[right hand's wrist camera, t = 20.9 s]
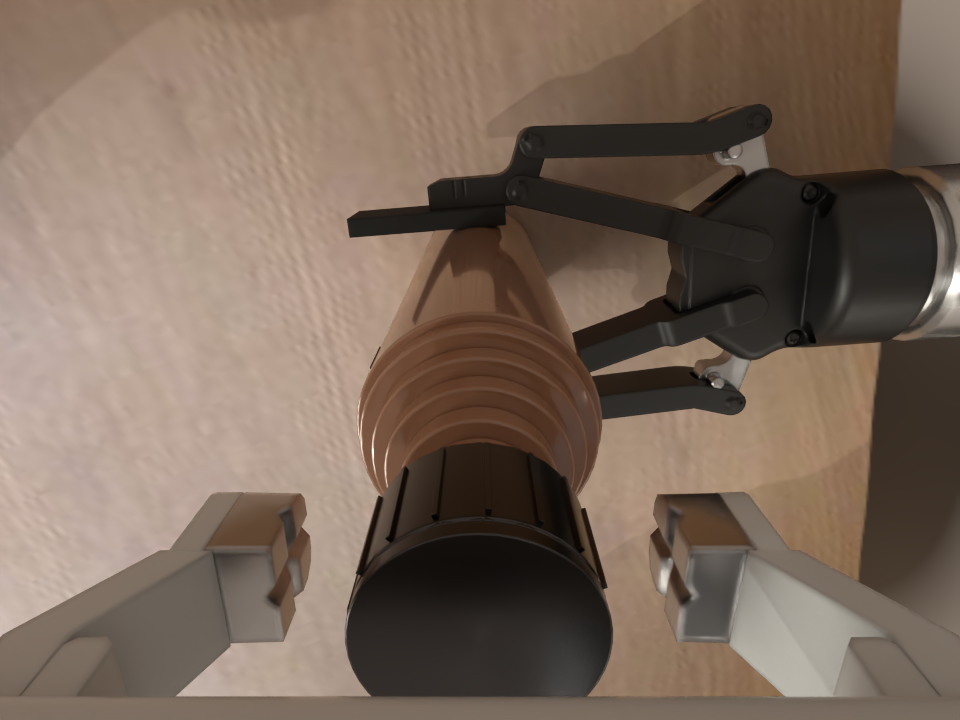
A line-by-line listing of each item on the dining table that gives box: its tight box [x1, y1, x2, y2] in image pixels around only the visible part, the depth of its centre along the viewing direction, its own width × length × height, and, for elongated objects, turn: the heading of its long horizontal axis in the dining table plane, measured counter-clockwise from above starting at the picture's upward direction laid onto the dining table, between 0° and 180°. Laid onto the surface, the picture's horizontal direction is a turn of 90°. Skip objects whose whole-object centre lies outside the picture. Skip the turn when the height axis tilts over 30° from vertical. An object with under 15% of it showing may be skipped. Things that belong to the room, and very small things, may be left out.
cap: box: [345, 442, 613, 697], centre depth 9 cm, size 4×4×2 cm
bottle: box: [357, 213, 602, 496], centre depth 21 cm, size 6×6×25 cm
